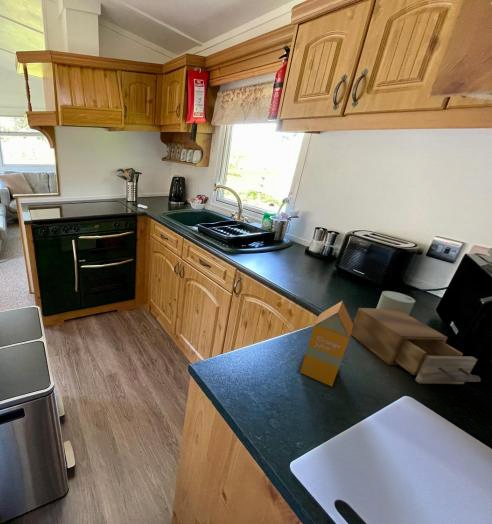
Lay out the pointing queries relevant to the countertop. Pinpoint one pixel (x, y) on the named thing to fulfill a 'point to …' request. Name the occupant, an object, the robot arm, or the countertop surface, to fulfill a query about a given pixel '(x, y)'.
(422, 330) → the cabinet
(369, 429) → the countertop surface
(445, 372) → the drawer
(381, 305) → the can
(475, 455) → the countertop surface
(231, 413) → the countertop surface
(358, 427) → the countertop surface
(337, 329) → the orange juice
